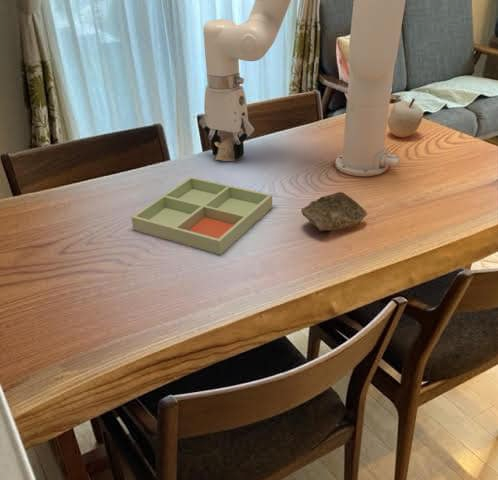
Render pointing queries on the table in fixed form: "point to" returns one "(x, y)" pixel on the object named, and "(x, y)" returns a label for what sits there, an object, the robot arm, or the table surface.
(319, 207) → the stone
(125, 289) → the table surface
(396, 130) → the decorative object
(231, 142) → the decorative ornament
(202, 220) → the grid
